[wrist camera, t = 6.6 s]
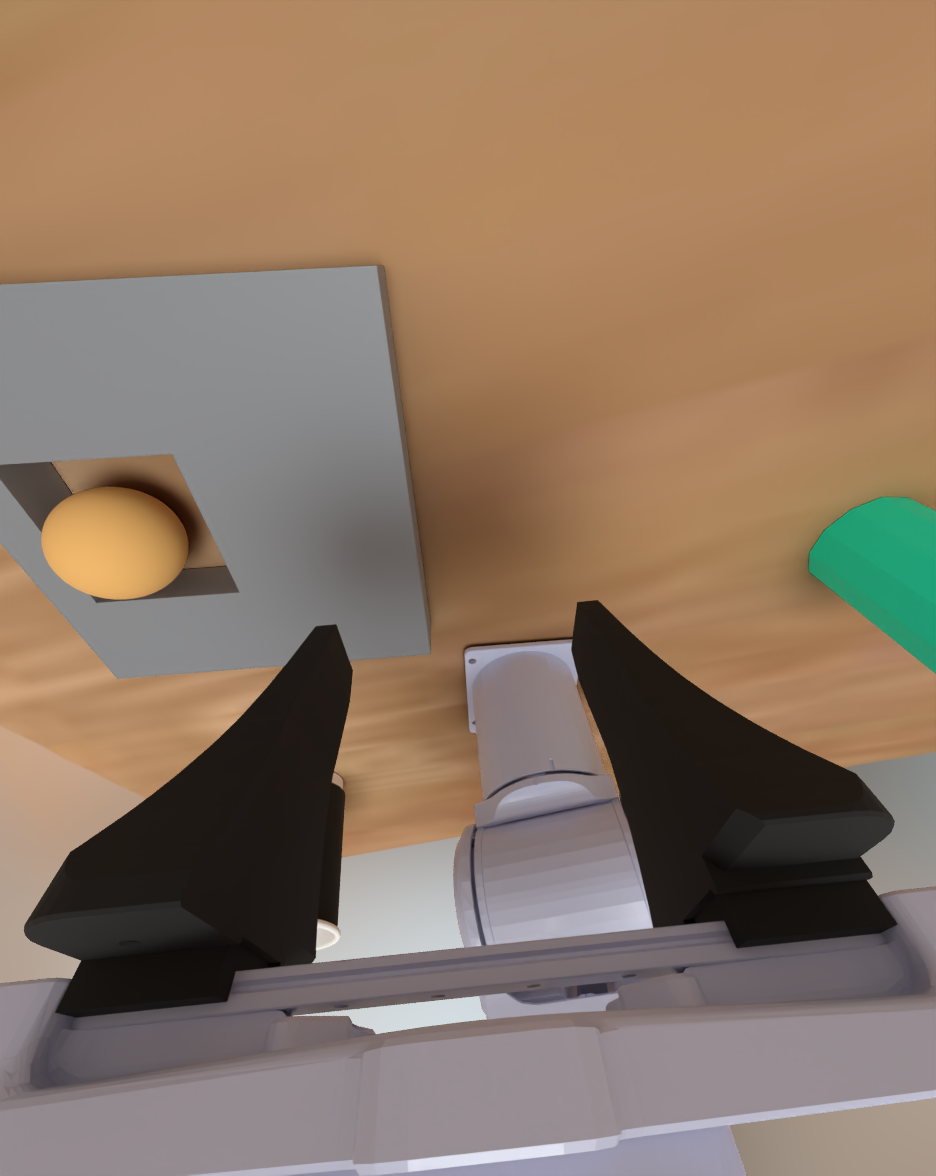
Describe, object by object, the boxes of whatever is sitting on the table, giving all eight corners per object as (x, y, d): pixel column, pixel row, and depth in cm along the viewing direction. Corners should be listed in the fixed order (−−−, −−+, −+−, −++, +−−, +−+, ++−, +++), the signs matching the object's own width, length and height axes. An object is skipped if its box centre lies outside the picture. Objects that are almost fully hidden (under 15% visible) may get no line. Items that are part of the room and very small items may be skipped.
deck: (430, 625, 26) (430, 654, 24) (141, 647, 26) (117, 678, 24) (383, 265, 15) (376, 265, 13) (-127, 291, 15) (-214, 295, 13)
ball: (97, 593, 21) (197, 543, 23) (109, 640, 17) (223, 576, 20) (6, 507, 17) (132, 457, 20) (0, 544, 14) (151, 481, 16)
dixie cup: (259, 759, 34) (200, 927, 25) (356, 757, 35) (331, 918, 26) (279, 805, 39) (235, 958, 30) (365, 801, 40) (346, 950, 31)
